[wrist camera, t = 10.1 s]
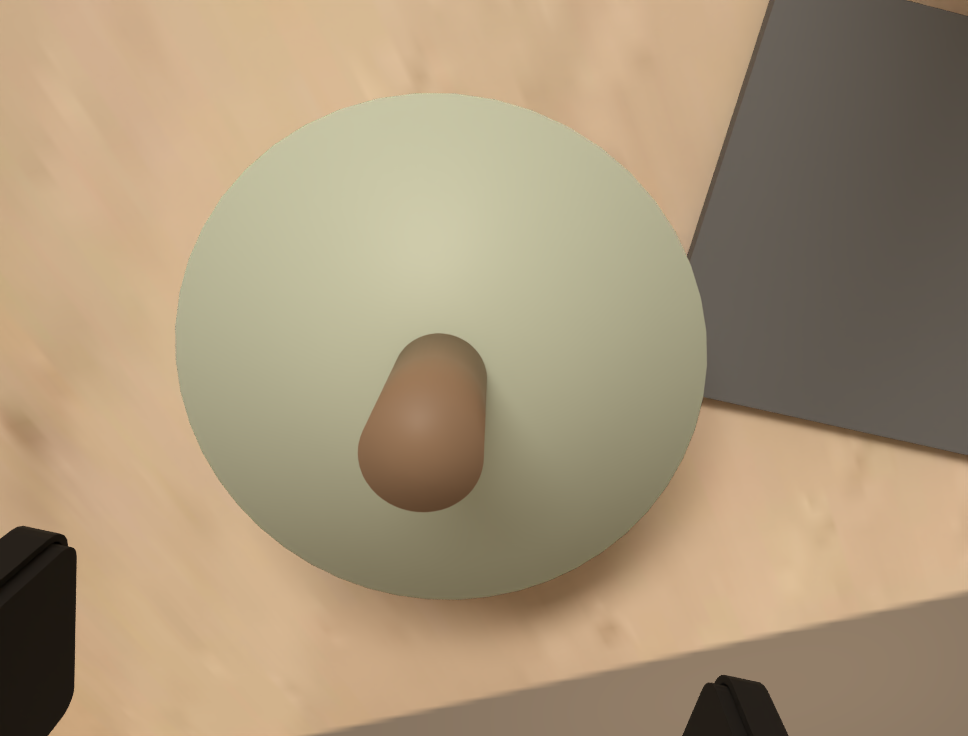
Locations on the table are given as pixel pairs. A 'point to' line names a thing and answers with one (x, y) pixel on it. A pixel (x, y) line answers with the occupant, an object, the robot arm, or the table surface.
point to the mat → (844, 223)
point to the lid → (441, 346)
